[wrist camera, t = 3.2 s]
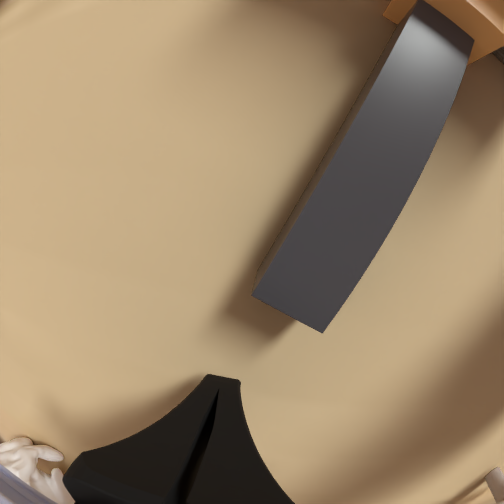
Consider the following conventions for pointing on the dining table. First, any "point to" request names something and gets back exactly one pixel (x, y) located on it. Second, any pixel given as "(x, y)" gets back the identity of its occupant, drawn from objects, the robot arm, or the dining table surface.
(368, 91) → the plug
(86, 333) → the dining table surface
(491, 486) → the toy jack
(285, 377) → the dining table surface
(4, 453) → the white lumpy piece
